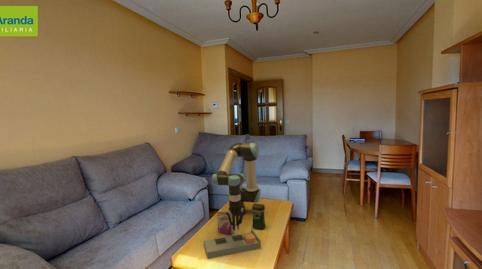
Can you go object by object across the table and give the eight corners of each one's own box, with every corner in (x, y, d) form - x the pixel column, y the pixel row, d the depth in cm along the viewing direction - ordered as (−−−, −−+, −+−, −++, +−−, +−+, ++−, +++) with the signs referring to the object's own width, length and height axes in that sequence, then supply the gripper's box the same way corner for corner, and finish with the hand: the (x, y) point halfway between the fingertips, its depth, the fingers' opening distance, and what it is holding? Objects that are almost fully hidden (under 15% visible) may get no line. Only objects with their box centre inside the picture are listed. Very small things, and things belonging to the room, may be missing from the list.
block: (244, 240, 164) (244, 234, 163) (252, 238, 166) (252, 233, 165) (246, 245, 158) (246, 239, 158) (255, 243, 160) (255, 237, 159)
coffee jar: (266, 226, 189) (266, 203, 187) (263, 230, 181) (262, 207, 180) (254, 223, 193) (254, 201, 191) (251, 228, 185) (250, 205, 184)
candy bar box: (217, 232, 180) (216, 211, 178) (220, 229, 185) (219, 208, 183) (231, 235, 176) (231, 213, 175) (234, 231, 181) (233, 210, 179)
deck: (203, 244, 165) (203, 236, 164) (252, 235, 175) (252, 228, 174) (207, 258, 149) (207, 250, 148) (260, 248, 159) (260, 240, 158)
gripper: (226, 203, 150) (227, 239, 153) (246, 200, 154) (247, 235, 157) (223, 199, 157) (225, 233, 160) (242, 196, 161) (243, 229, 164)
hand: (236, 234), depth 159 cm, fingers closed
